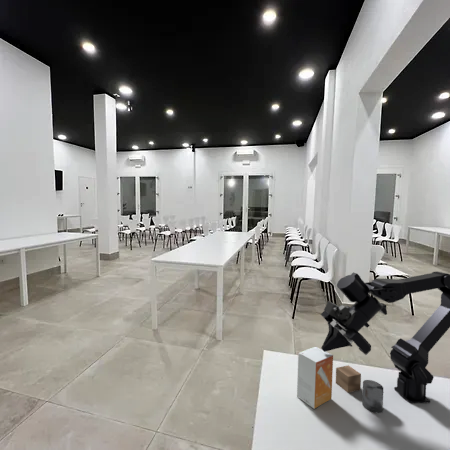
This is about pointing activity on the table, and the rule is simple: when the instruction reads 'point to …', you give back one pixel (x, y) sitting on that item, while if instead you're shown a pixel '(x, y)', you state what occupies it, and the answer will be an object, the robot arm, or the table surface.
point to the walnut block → (348, 379)
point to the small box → (314, 376)
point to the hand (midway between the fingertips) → (322, 350)
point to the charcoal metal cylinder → (372, 396)
